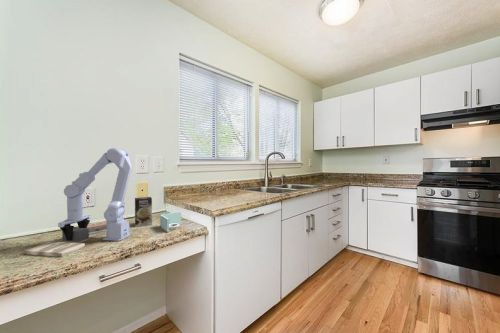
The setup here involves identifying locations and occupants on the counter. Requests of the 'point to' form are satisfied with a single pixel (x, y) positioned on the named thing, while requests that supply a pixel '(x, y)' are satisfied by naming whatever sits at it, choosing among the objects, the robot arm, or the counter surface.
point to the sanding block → (77, 235)
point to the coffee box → (143, 211)
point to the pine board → (54, 249)
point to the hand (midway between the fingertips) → (75, 237)
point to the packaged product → (97, 227)
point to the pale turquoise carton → (170, 221)
